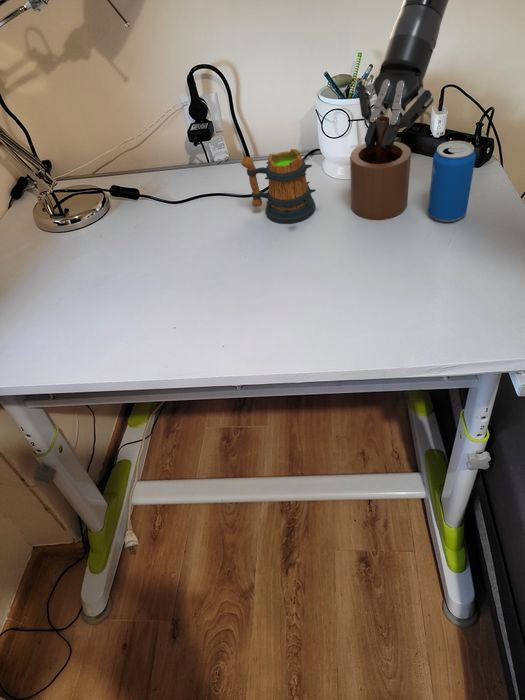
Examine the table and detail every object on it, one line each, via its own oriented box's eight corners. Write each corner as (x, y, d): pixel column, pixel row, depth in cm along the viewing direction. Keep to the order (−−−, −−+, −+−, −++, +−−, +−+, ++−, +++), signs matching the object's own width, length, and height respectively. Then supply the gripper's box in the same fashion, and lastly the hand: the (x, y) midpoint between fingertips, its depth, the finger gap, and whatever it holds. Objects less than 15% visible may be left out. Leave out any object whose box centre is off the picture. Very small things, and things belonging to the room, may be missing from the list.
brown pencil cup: (408, 190, 97) (411, 139, 90) (406, 220, 90) (410, 167, 83) (354, 191, 100) (353, 141, 93) (348, 220, 93) (347, 168, 86)
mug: (316, 194, 101) (312, 136, 93) (317, 222, 94) (313, 163, 86) (251, 200, 103) (242, 145, 94) (248, 228, 96) (237, 171, 87)
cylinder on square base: (391, 179, 94) (394, 114, 86) (390, 189, 92) (393, 123, 84) (371, 180, 95) (372, 115, 87) (370, 189, 93) (371, 124, 85)
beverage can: (424, 206, 92) (430, 142, 84) (461, 202, 92) (471, 137, 83) (431, 226, 88) (438, 160, 79) (469, 222, 87) (481, 155, 79)
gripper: (366, 31, 85) (332, 134, 87) (447, 33, 78) (409, 145, 80) (379, 55, 91) (348, 151, 94) (456, 59, 85) (420, 162, 87)
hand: (376, 148), depth 87 cm, fingers closed on cylinder on square base, 2 cm apart
